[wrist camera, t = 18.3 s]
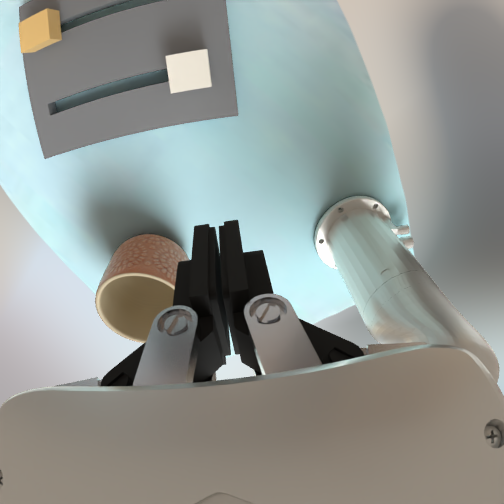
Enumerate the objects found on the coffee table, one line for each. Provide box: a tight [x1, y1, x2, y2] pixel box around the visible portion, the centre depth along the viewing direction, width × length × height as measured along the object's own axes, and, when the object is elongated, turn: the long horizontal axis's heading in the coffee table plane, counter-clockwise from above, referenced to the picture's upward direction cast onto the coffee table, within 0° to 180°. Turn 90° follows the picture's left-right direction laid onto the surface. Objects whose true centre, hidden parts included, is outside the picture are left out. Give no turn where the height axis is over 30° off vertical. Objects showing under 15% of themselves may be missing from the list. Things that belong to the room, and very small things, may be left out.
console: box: [19, 0, 238, 159], centre depth 26 cm, size 25×22×2 cm
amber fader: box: [19, 8, 62, 53], centre depth 21 cm, size 4×4×5 cm
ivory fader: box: [165, 49, 212, 94], centre depth 27 cm, size 4×4×5 cm
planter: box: [95, 234, 189, 343], centre depth 40 cm, size 12×12×11 cm
